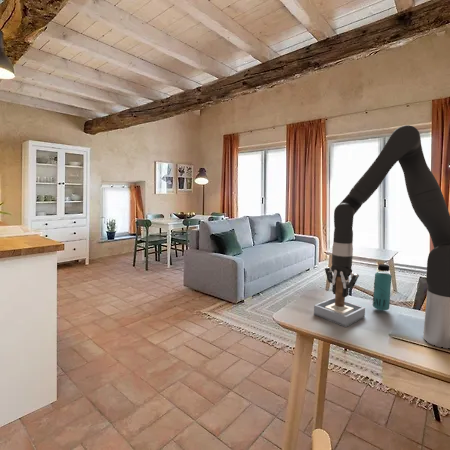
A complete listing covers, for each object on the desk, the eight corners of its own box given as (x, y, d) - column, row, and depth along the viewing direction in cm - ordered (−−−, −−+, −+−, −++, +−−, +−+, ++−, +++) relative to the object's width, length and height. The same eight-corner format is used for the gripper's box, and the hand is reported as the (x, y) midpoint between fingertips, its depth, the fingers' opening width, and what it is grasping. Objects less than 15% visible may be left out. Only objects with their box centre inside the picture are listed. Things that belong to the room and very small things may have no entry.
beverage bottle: (385, 307, 127) (388, 262, 125) (392, 314, 121) (396, 267, 118) (369, 307, 128) (372, 262, 125) (375, 313, 121) (379, 266, 119)
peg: (346, 305, 119) (347, 276, 117) (341, 307, 116) (342, 278, 115) (338, 302, 121) (339, 274, 120) (333, 304, 119) (334, 276, 118)
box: (364, 317, 118) (365, 307, 118) (345, 327, 110) (346, 317, 109) (333, 306, 129) (333, 297, 129) (313, 314, 121) (314, 305, 120)
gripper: (364, 255, 113) (361, 298, 115) (331, 249, 124) (329, 288, 126) (354, 258, 108) (351, 303, 111) (321, 251, 120) (319, 292, 122)
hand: (340, 295), depth 118 cm, fingers closed on peg, 3 cm apart
